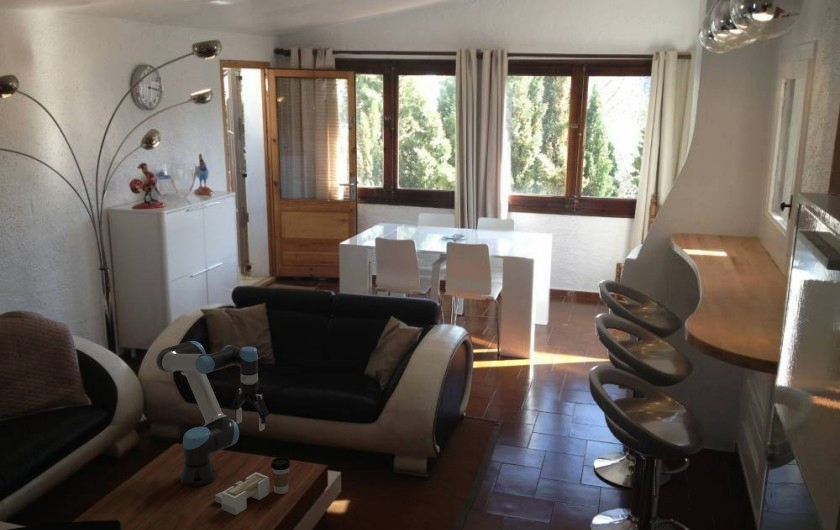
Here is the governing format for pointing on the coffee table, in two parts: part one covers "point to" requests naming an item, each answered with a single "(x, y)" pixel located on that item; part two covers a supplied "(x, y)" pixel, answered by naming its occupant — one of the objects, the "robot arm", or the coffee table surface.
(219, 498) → the rest blocks
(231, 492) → the rail
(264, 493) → the bracket pair
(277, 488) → the coffee cup
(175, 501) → the coffee table surface
